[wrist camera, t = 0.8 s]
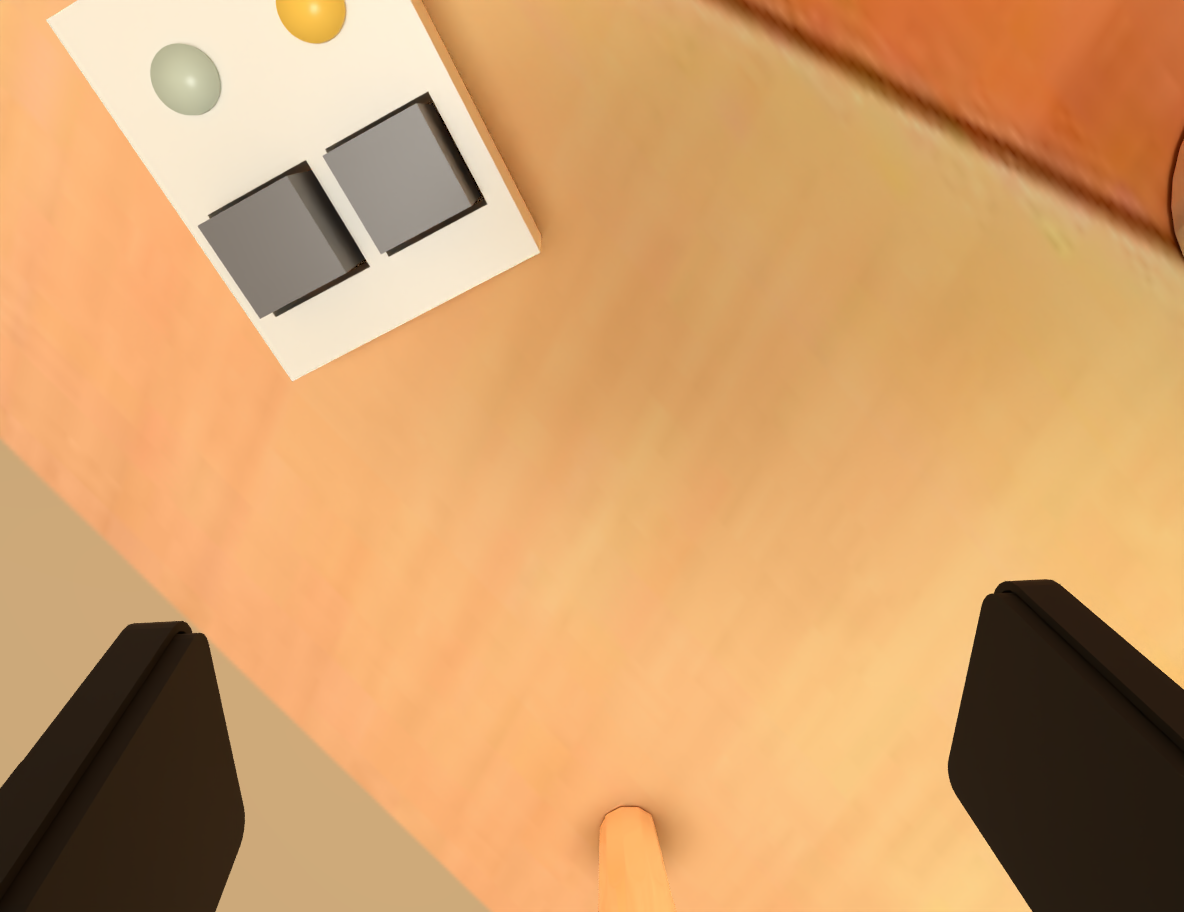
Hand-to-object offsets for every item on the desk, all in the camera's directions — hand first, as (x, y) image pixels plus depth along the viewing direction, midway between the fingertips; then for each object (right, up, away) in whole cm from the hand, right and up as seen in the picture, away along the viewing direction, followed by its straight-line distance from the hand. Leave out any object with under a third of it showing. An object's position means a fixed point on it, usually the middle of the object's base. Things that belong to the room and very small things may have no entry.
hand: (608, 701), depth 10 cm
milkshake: (+2, -18, +38) cm, 42 cm away
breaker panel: (-10, +16, +23) cm, 30 cm away
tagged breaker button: (-7, +14, +21) cm, 26 cm away
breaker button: (-11, +12, +22) cm, 27 cm away
